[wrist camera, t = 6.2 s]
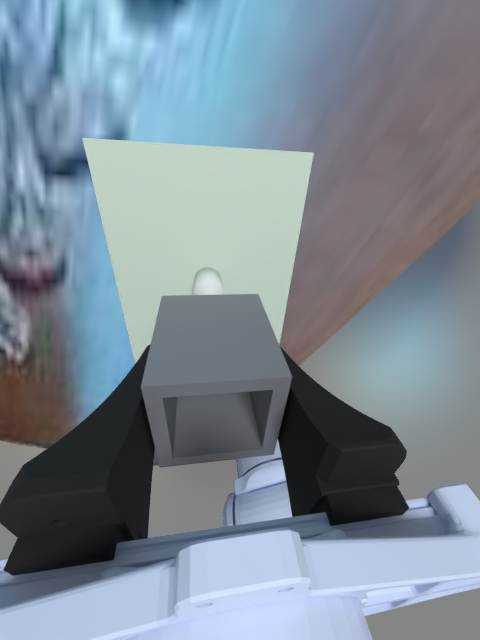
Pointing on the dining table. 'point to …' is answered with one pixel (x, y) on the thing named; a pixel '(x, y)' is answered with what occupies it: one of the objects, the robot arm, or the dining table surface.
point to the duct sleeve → (214, 380)
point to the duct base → (197, 223)
